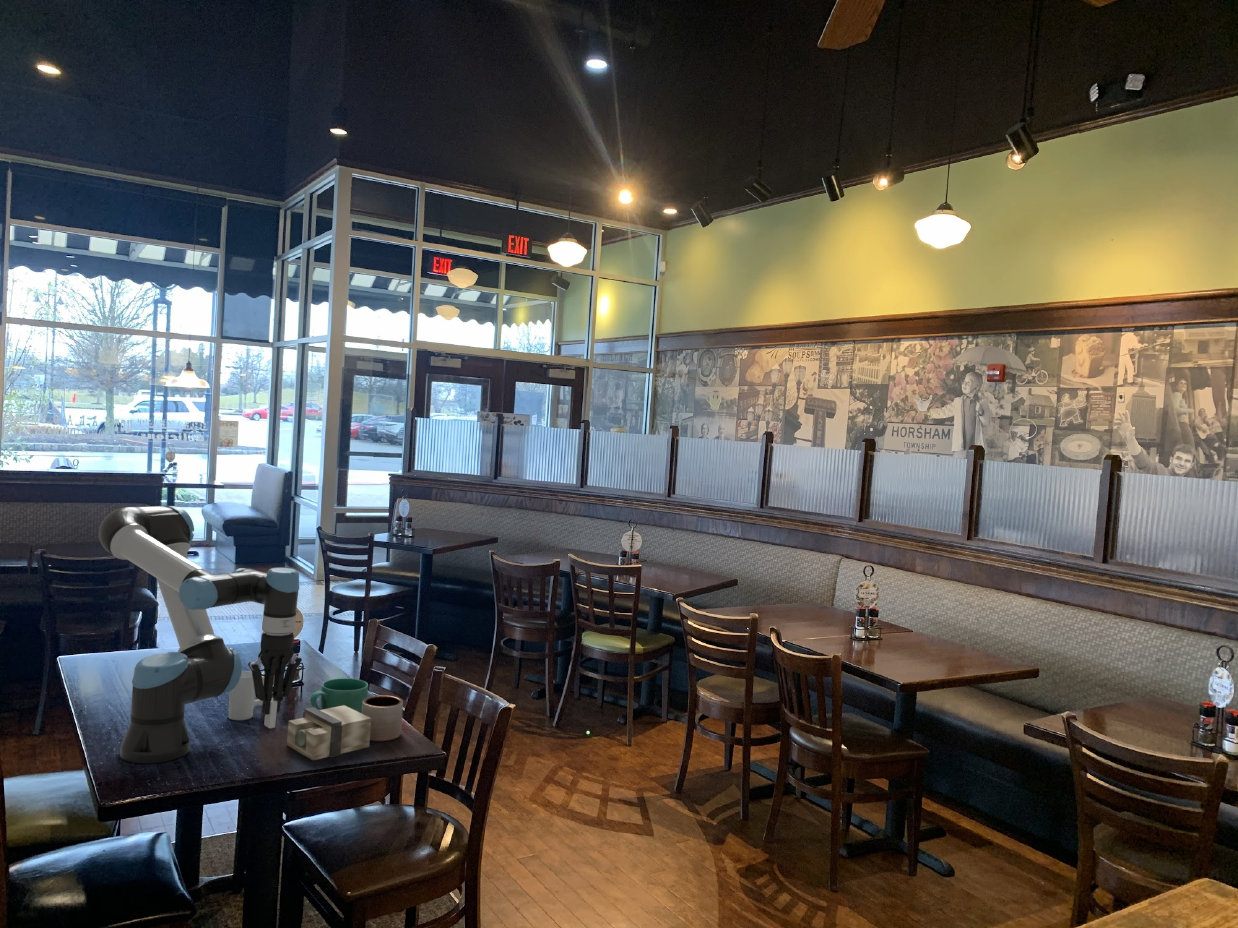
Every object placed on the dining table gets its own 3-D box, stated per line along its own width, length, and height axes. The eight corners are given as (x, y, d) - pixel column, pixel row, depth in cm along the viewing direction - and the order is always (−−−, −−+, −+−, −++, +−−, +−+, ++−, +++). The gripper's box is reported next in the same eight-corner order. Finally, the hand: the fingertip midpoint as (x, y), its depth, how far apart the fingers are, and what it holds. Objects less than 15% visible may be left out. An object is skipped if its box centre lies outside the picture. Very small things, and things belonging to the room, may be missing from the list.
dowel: (303, 747, 219) (304, 732, 219) (296, 743, 221) (297, 728, 221) (353, 736, 229) (354, 721, 229) (345, 732, 232) (346, 717, 232)
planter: (367, 727, 242) (369, 693, 242) (405, 730, 242) (408, 696, 242) (353, 740, 231) (356, 705, 231) (394, 744, 231) (396, 708, 231)
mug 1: (230, 721, 238) (233, 678, 237) (224, 714, 243) (227, 672, 243) (268, 717, 244) (271, 674, 243) (262, 710, 249) (265, 668, 249)
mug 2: (353, 707, 258) (355, 675, 258) (373, 719, 249) (376, 686, 249) (298, 716, 246) (301, 683, 246) (318, 729, 237) (320, 695, 237)
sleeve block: (314, 761, 215) (317, 727, 215) (284, 743, 225) (287, 711, 225) (371, 747, 227) (373, 715, 227) (340, 731, 237) (342, 700, 237)
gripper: (259, 638, 206) (250, 735, 207) (310, 632, 216) (301, 725, 217) (245, 630, 211) (236, 726, 212) (295, 625, 220) (287, 716, 221)
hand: (269, 725), depth 214 cm, fingers closed
